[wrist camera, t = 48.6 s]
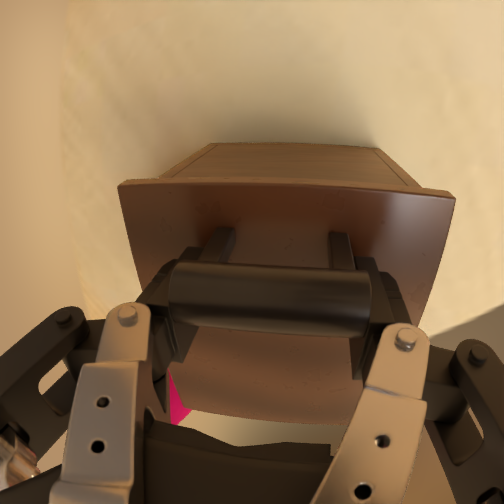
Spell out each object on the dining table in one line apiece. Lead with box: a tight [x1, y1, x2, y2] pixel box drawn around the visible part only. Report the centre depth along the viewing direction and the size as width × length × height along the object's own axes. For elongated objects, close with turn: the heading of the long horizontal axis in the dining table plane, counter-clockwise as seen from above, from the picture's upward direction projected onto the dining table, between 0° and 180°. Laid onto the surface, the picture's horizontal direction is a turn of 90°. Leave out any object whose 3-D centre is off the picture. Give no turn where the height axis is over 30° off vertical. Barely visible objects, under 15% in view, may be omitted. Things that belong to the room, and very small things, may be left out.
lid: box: [117, 177, 456, 425], centre depth 12 cm, size 15×13×5 cm
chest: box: [158, 143, 422, 188], centre depth 20 cm, size 15×13×12 cm
